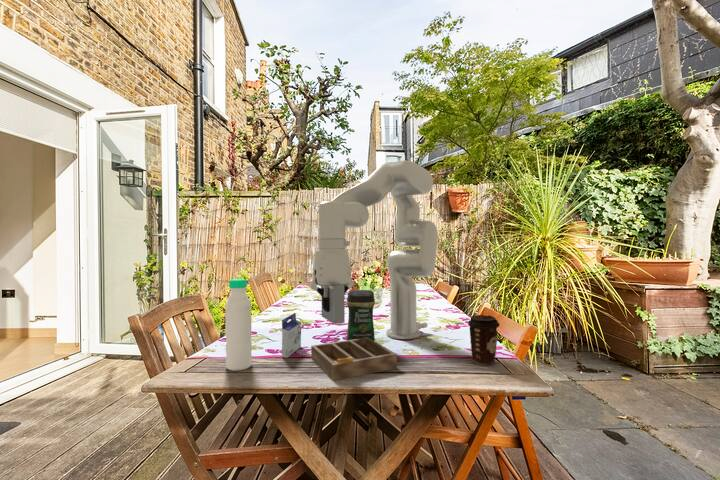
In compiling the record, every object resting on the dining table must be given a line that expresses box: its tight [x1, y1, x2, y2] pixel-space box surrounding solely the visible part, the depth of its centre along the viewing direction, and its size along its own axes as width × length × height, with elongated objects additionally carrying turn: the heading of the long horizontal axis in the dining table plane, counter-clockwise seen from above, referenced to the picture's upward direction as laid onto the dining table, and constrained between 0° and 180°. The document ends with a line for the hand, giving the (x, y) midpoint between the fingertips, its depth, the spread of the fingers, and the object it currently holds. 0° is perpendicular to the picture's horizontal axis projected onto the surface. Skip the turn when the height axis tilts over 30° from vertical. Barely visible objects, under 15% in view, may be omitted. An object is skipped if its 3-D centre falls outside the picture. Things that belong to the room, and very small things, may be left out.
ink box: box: [281, 312, 302, 359], centre depth 116 cm, size 12×2×12 cm, turn 168°
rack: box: [310, 337, 398, 381], centre depth 105 cm, size 19×18×5 cm
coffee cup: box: [467, 314, 500, 366], centre depth 106 cm, size 9×8×13 cm
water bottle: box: [224, 278, 253, 372], centre depth 103 cm, size 7×7×25 cm
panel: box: [321, 285, 346, 325], centre depth 102 cm, size 3×10×10 cm, turn 26°
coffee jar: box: [346, 289, 376, 342], centre depth 123 cm, size 10×8×19 cm
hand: (332, 309), depth 102 cm, fingers closed on panel, 3 cm apart
